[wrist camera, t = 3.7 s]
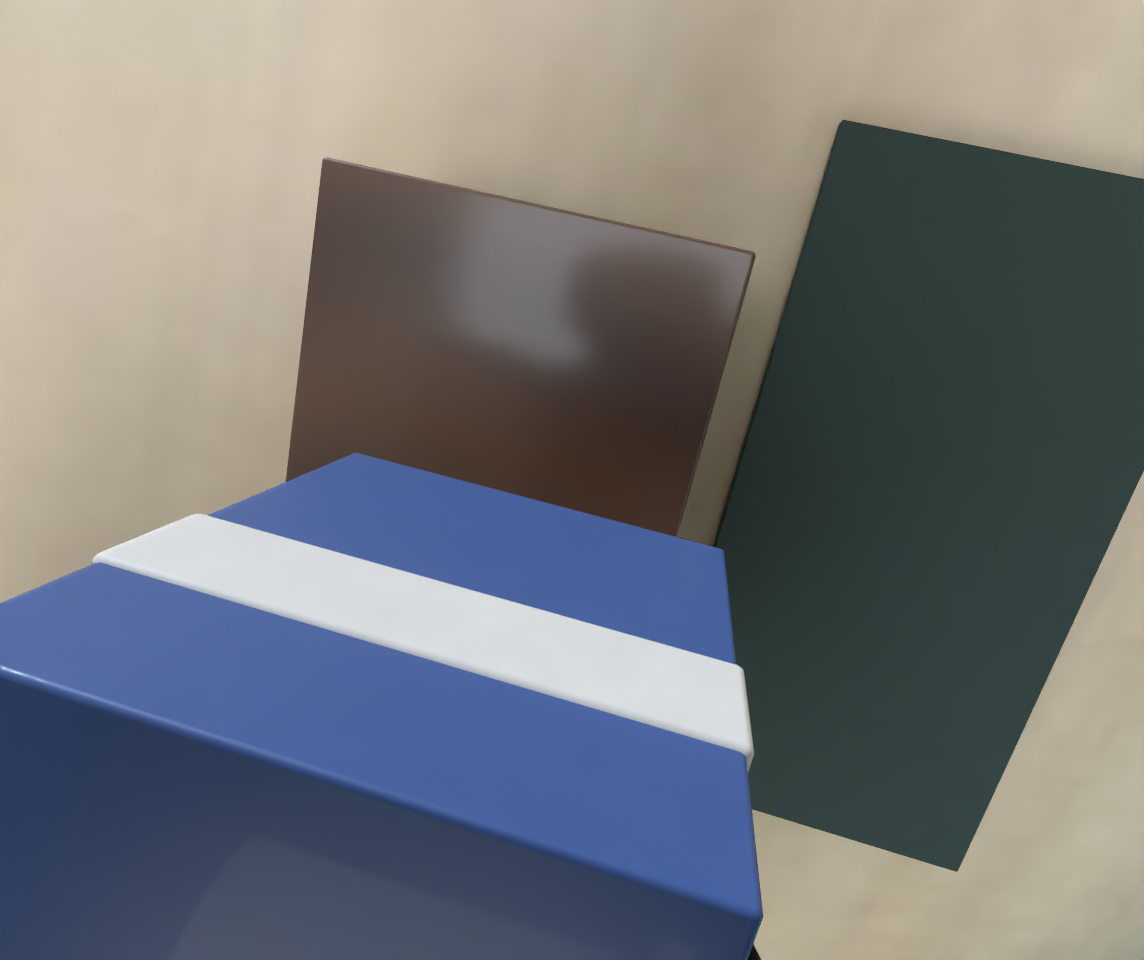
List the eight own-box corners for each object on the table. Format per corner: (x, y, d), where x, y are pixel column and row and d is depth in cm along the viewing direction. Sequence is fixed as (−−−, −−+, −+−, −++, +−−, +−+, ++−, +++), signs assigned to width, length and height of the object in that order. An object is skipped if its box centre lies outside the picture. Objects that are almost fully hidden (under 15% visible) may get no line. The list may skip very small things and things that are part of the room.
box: (603, 970, 11) (510, 1624, 5) (297, 867, 11) (-60, 1363, 6) (730, 545, 9) (779, 912, 3) (351, 446, 9) (-104, 629, 4)
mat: (953, 863, 22) (957, 872, 22) (647, 769, 23) (646, 777, 23) (1255, 205, 17) (1268, 203, 16) (839, 123, 18) (842, 119, 17)
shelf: (603, 756, 23) (573, 902, 18) (354, 680, 24) (248, 795, 18) (737, 269, 19) (756, 252, 13) (428, 200, 20) (321, 155, 14)
